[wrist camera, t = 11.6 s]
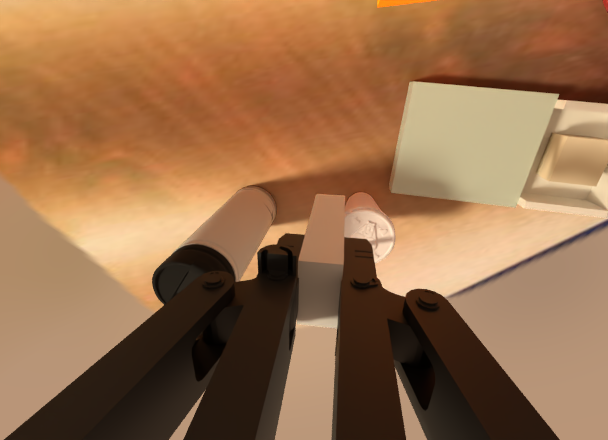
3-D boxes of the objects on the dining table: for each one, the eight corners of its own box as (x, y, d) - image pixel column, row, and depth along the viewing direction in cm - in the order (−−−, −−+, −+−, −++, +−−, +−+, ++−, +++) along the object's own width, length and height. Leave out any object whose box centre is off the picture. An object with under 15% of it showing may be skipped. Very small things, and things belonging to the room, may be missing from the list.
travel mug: (287, 201, 42) (238, 291, 23) (262, 236, 44) (200, 341, 26) (247, 174, 41) (165, 245, 23) (224, 211, 44) (134, 302, 25)
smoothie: (329, 218, 42) (319, 277, 29) (346, 174, 39) (344, 217, 26) (374, 234, 42) (384, 299, 29) (394, 191, 39) (415, 243, 26)
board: (409, 81, 34) (413, 81, 32) (545, 93, 33) (559, 94, 31) (388, 186, 39) (391, 192, 37) (505, 200, 38) (515, 207, 36)
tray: (543, 98, 33) (566, 100, 30) (635, 106, 32) (671, 109, 29) (507, 196, 38) (524, 208, 34) (587, 205, 37) (613, 218, 33)
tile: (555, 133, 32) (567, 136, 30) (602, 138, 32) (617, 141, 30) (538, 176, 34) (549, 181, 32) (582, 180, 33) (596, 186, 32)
